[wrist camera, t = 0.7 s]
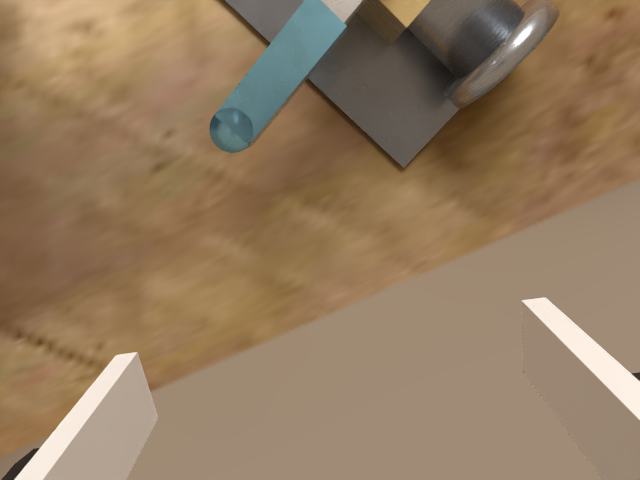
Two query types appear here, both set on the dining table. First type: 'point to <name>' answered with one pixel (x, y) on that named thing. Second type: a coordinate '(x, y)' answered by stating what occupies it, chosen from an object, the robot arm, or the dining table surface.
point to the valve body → (415, 59)
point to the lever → (281, 71)
